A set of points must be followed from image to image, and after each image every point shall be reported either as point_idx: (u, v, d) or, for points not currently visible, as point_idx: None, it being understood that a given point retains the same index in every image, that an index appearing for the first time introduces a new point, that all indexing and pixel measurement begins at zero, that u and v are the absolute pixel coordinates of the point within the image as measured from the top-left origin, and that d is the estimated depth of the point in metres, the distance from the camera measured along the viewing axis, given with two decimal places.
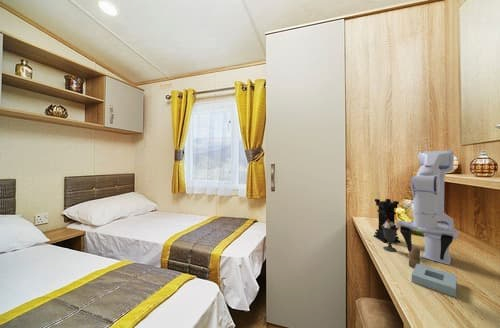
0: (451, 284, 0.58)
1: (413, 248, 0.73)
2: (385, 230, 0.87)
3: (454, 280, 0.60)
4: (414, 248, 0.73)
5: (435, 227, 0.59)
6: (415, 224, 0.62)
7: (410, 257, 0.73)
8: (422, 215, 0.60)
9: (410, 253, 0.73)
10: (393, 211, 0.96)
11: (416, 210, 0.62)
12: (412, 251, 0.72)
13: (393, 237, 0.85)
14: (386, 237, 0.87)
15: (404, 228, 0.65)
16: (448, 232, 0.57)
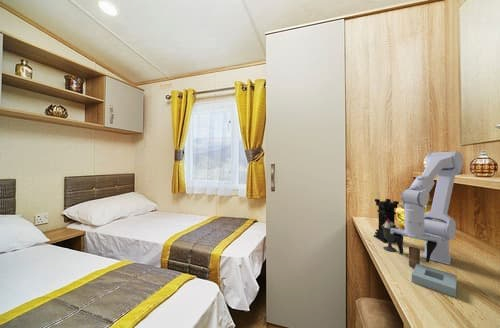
0: (451, 284, 0.58)
1: (413, 248, 0.73)
2: (385, 230, 0.87)
3: (454, 280, 0.60)
4: (414, 248, 0.73)
5: (422, 234, 0.70)
6: (406, 231, 0.73)
7: (410, 257, 0.73)
8: (411, 224, 0.71)
9: (410, 253, 0.73)
10: (393, 211, 0.96)
11: (405, 219, 0.73)
12: (412, 251, 0.72)
13: None
14: (386, 237, 0.87)
15: (396, 234, 0.76)
16: (433, 239, 0.68)
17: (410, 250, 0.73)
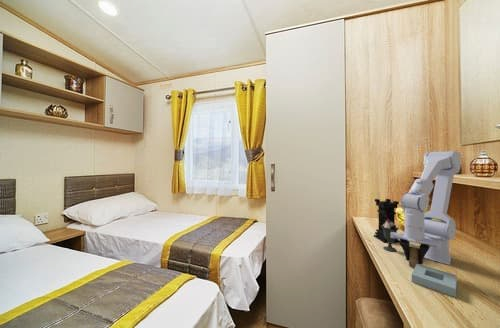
0: (451, 284, 0.58)
1: (413, 248, 0.73)
2: (385, 230, 0.87)
3: (454, 280, 0.60)
4: (414, 248, 0.73)
5: (422, 239, 0.70)
6: (406, 236, 0.73)
7: (410, 257, 0.73)
8: (411, 228, 0.71)
9: (410, 253, 0.73)
10: (393, 211, 0.96)
11: (405, 223, 0.73)
12: (412, 251, 0.72)
13: None
14: (386, 237, 0.87)
15: None
16: (433, 243, 0.68)
17: (410, 250, 0.73)
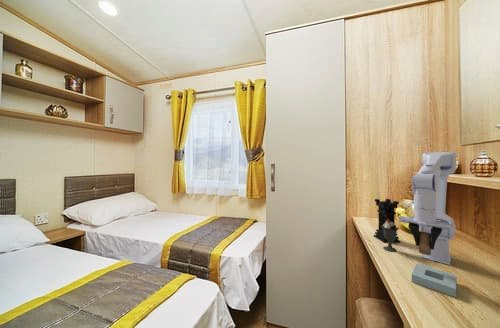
0: (451, 284, 0.58)
1: (424, 233, 0.67)
2: (385, 230, 0.87)
3: (454, 280, 0.60)
4: (425, 233, 0.67)
5: (434, 221, 0.64)
6: (415, 219, 0.68)
7: (421, 242, 0.67)
8: (422, 210, 0.66)
9: (421, 238, 0.67)
10: (393, 211, 0.96)
11: (416, 206, 0.67)
12: (423, 236, 0.66)
13: (393, 237, 0.85)
14: (386, 237, 0.87)
15: None
16: (446, 226, 0.62)
17: (421, 235, 0.67)
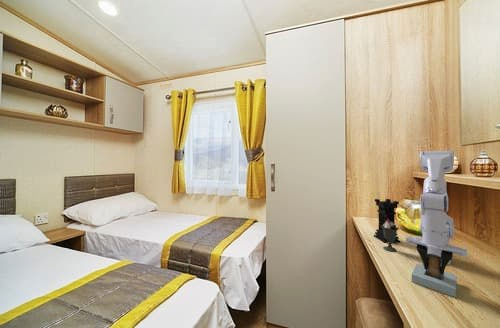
0: (451, 284, 0.58)
1: (433, 256, 0.63)
2: (385, 230, 0.87)
3: (454, 280, 0.60)
4: (434, 256, 0.63)
5: (444, 245, 0.61)
6: (424, 241, 0.64)
7: (430, 266, 0.63)
8: (431, 233, 0.62)
9: (430, 262, 0.63)
10: (393, 211, 0.96)
11: (426, 227, 0.63)
12: (433, 260, 0.62)
13: (393, 237, 0.85)
14: (386, 237, 0.87)
15: None
16: (457, 250, 0.59)
17: (430, 259, 0.63)
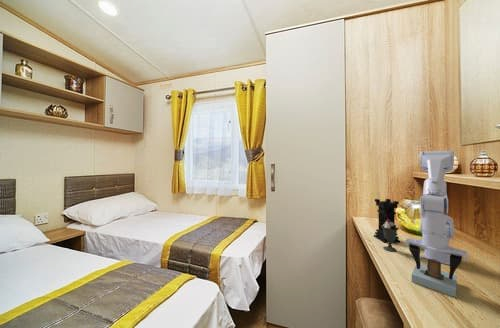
0: (451, 284, 0.58)
1: (433, 261, 0.63)
2: (385, 230, 0.87)
3: (454, 280, 0.60)
4: (434, 261, 0.63)
5: (444, 247, 0.61)
6: (424, 243, 0.64)
7: (430, 271, 0.63)
8: (431, 235, 0.62)
9: (430, 267, 0.63)
10: (393, 211, 0.96)
11: (426, 229, 0.63)
12: (433, 265, 0.62)
13: (393, 237, 0.85)
14: (386, 237, 0.87)
15: (413, 246, 0.67)
16: (457, 252, 0.59)
17: (430, 264, 0.63)
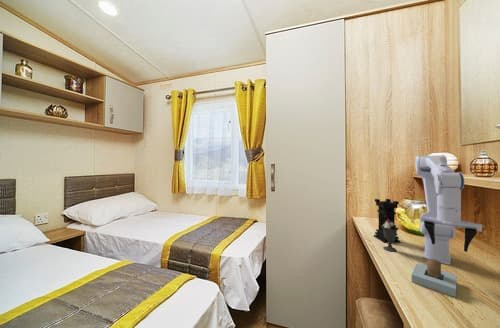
0: (451, 284, 0.58)
1: (433, 261, 0.63)
2: (385, 230, 0.87)
3: (454, 280, 0.60)
4: (434, 261, 0.63)
5: (459, 221, 0.63)
6: (439, 218, 0.66)
7: (430, 271, 0.63)
8: (446, 209, 0.65)
9: (430, 267, 0.63)
10: (393, 211, 0.96)
11: (443, 205, 0.65)
12: (433, 265, 0.62)
13: (393, 237, 0.85)
14: (386, 237, 0.87)
15: (428, 222, 0.69)
16: (472, 225, 0.61)
17: (430, 264, 0.63)
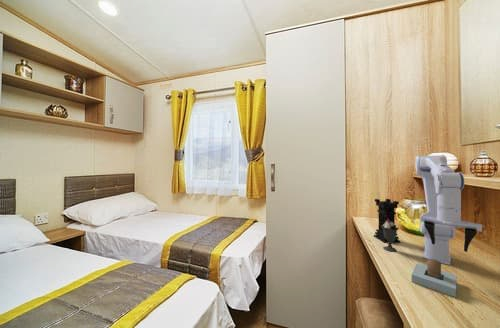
0: (451, 284, 0.58)
1: (433, 261, 0.63)
2: (385, 230, 0.87)
3: (454, 280, 0.60)
4: (434, 261, 0.63)
5: (459, 221, 0.63)
6: (439, 218, 0.66)
7: (430, 271, 0.63)
8: (446, 209, 0.65)
9: (430, 267, 0.63)
10: (393, 211, 0.96)
11: (443, 205, 0.65)
12: (433, 265, 0.62)
13: (393, 237, 0.85)
14: (386, 237, 0.87)
15: (428, 222, 0.69)
16: (472, 225, 0.61)
17: (430, 264, 0.63)
